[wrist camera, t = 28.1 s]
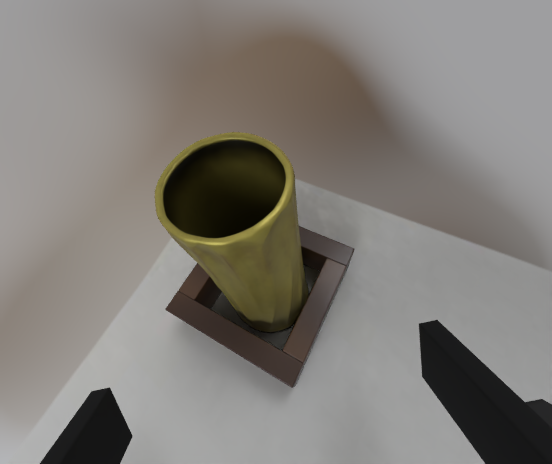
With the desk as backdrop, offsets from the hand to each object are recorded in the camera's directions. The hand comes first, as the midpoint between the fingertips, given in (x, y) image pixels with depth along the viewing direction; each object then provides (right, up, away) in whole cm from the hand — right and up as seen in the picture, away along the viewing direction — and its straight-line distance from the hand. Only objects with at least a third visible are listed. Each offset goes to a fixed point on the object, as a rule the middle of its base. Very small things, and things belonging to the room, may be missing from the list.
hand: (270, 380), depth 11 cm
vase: (0, +1, +11) cm, 11 cm away
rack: (0, +1, +11) cm, 11 cm away
